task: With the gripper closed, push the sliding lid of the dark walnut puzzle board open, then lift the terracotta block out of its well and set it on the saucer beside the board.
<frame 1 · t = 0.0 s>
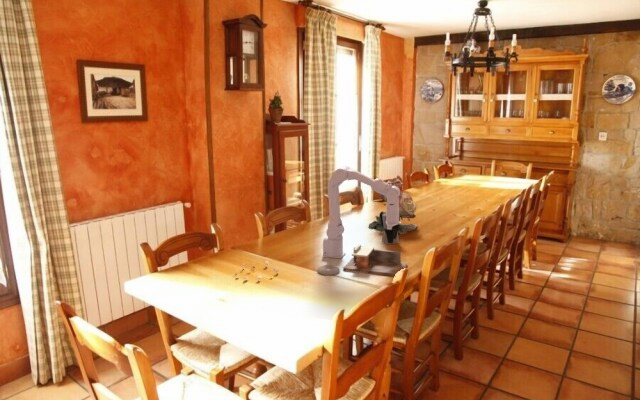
hand: (392, 240, 214), 10 cm above the table, fingers open, 7 cm apart
coffeepot: (389, 241, 249), on the table
saucer: (328, 271, 204), on the table
rose bouquet: (396, 227, 277), on the table
game piece set: (256, 275, 203), on the table
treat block: (362, 267, 209), resting in puzzle board
puzzle board: (362, 267, 209), on the table
sliding lid: (363, 250, 209), point 8 cm above the table, slide at 0.0 cm
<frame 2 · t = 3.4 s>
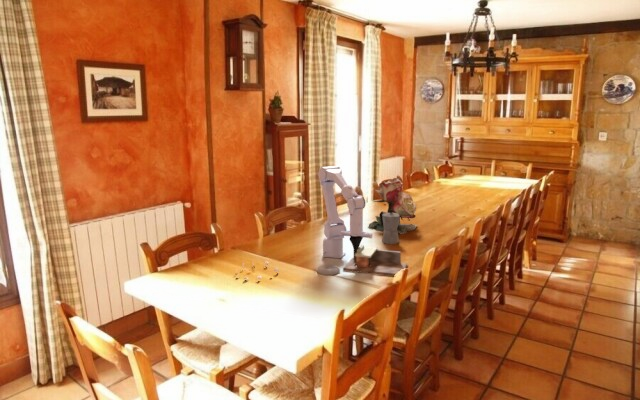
hand: (356, 252, 209), 7 cm above the table, fingers closed
sliding lid: (366, 250, 208), point 8 cm above the table, slide at 1.5 cm, touching gripper
everything else where it was.
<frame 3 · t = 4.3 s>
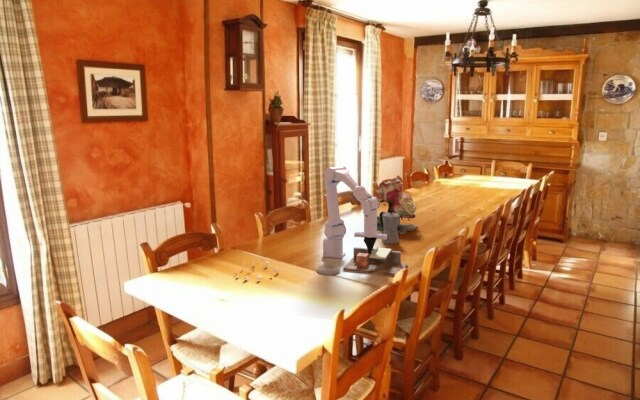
hand: (370, 253, 207), 7 cm above the table, fingers closed
sliding lid: (380, 251, 206), point 8 cm above the table, slide at 8.1 cm, touching gripper
everything else where it was.
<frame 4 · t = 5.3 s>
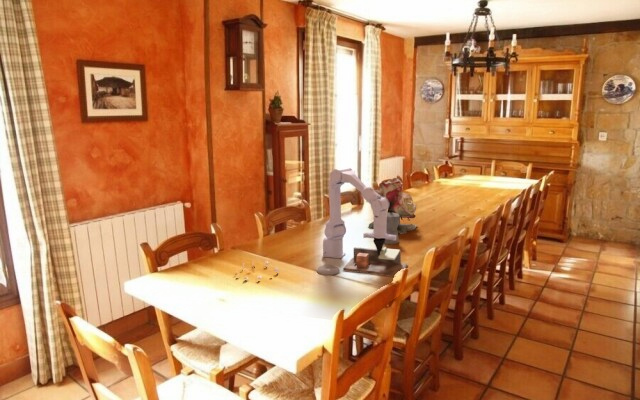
hand: (379, 254, 206), 7 cm above the table, fingers closed
sliding lid: (389, 252, 204), point 8 cm above the table, slide at 12.1 cm, touching gripper
everything else where it was.
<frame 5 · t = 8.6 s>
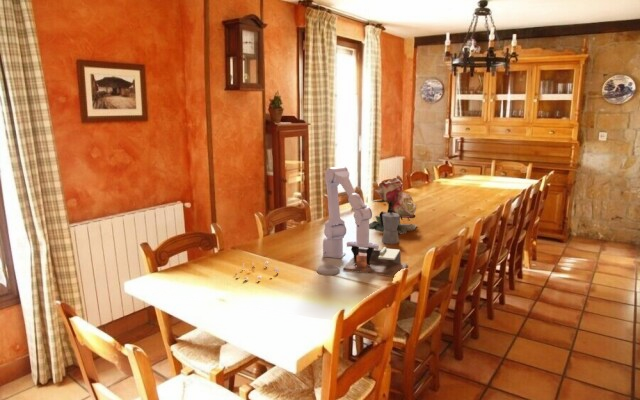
hand: (362, 262, 209), 2 cm above the table, fingers closed on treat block, 4 cm apart
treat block: (362, 267, 209), resting in puzzle board, touching gripper
sliding lid: (389, 252, 204), point 8 cm above the table, slide at 12.0 cm
everything else where it was.
when the fingers open (5 cm above the table, at t = 12.3 s): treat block drops 1 cm, resting on saucer.
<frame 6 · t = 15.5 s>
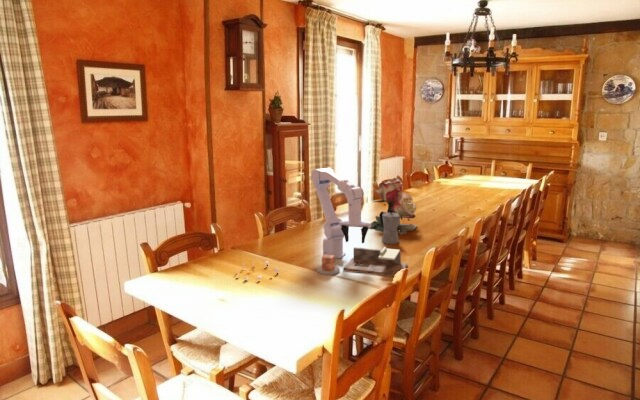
hand: (355, 242, 212), 10 cm above the table, fingers open, 7 cm apart
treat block: (328, 269, 204), point 1 cm above the table, touching saucer
everything else where it was.
at the end: sliding lid slide at 12.0 cm; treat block 0.1 cm off-centre on the saucer, point 1.0 cm above the saucer's base; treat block tilted 0° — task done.
